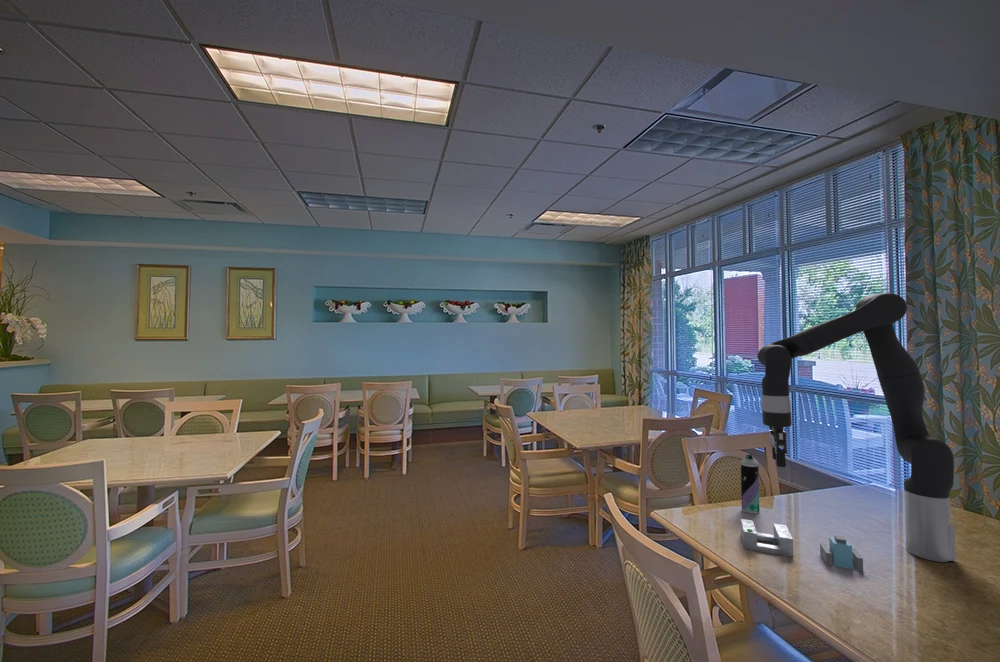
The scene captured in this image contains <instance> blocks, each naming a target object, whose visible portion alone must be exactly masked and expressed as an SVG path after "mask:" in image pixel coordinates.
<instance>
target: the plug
mask: <svg viewBox="0 0 1000 662" xmlns="http://www.w3.org/2000/svg"><path fill="white" fill-rule="evenodd" d="M828 540H829V544H828V545H829V551H830V552H831V556H832V564H833V565H832V566H834V567H839V568H845V569H846V568H847V569H852V570H853V569H854V568H853V567H854V565H853V561H852V548H853V546H852V544H851V543H850V542H849V540H848V539H846V538H845V537H844V536H841V535H834V537H832V536H829V538H828Z"/></svg>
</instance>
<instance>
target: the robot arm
mask: <svg viewBox="0 0 1000 662" xmlns="http://www.w3.org/2000/svg"><path fill="white" fill-rule="evenodd" d="M907 310H908V304H907V302H906V300H905V299H904V298H903V297H902V296H900V295H899V294H896V293H892V292H881V293H876V294H872V295H871V294H870V295H868V296H864V297H862V298H861V299H859V300H858V301H857V303H856V305H855V310H852V311H851V312H850V311H849V312H848V313H846V314H844V315H841V316H838V317H836V318H833V319H830V320H827V321H824V322H821V323H818V324H815V325H812V326H809V327H807V328H805V329H802V330H801V331H799V332H798V331H797V333H794V334H793V335H791V336H789V337H786V338H785V337H784V338H782V339H780V340H776V341H774V342H771V343H769V344H766V345H764V346H762V347H761V348H760V349H759V350H758V352H757V360H758V361H759V364H761V365H762V366H764V367H765V372H764V376H763V377H762V380H761V393H762V394H761V395H762V396H761V413H762V415H761V416H762V417H761V418H762V424H763V425H764V426H767V427H768V428H769V431H768V434H769V443H770V446H771V454H772V459H773V460H774V461H776V466H777V467H778V468H786V467H787V464H786V455H787V453H788V449H787V433H786V432H785V430H784V428H789V427H792V425H793V423H792V404H791V398H790V385H789V378H790V374H791V370H792V369H791V368H792V360H793V359H795V358H798V357H803V356H808V355H810V354H813V353H814V352H818V351H820V350H821V349H824V348H826V347H829V346H831V345H834V344H835V343H838V342H840V341H842V340H844V339H847V338H849V337H852V336H854V335H856V334H859V333H862V332H863V335H864V337H865V339H866V341H867V345H868V347H869V350H870V354H871V359H872V361H873V364H874V367H875V371H876V375H877V379H878V382H879V385H880V389H881V391H882V393H883V397H884V400H885V403H886V407H887V409H888V412H889V415H890V418H891V422H892V427H893V433H894V438H895V445H896V449H897V452H898V454H899V456H900V457H901V458H902V459H903V460H904V461H906V462H907V463H908V464H911V466H910V467H911V471H910V473H911V474H910V477H908V478H905V479H904V481H903V492H904V493H903V494H904V495H903V497H904V498H903V499H904V523H905V524H904V525H905V528H904V529H905V548H906V551H907V552H909V553H910V554H911V555H914V556H915V557H919V558H922V559H925V560H929V561H933V562H938V563H949V562H948V561H954V562H953V563H956V562H957V553H956V552H957V550H956V528H955V526H954V525H952V521H951V520H952V518H951V517H952V515H951V490H952V488H953V486H954V479H955V477H954V475H955V459H954V458H955V457H954V453H953V451H952V449H951V447H950V446H949V445H948V444H947V443H945V442H944V441H942V440H940V439H938V438H935V437H931V435H930V433H929V432H928V429H927V426H926V424H925V421H924V417H923V406H924V403H925V392H926V389H925V383H924V381H923V378H922V374H921V372H920V368H919V367H918V364H917V363H916V361H915V360H914V358H913V357H912V356H911V355H910V354H909V352H908V351H907V349H905V348H904V346H903V344H902V343H901V342H900V341H899V338H898V337H897V335H896V331H895V328H894V325H893V324H895V323H898V322H899V321H900V320H902V319H903V318H904V317H905V315H906V313H907Z"/></svg>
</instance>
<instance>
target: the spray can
mask: <svg viewBox="0 0 1000 662" xmlns="http://www.w3.org/2000/svg"><path fill="white" fill-rule="evenodd" d="M759 475H760V473H759V462H758V461H756V460H755V458H754V457H753V455H752V454H748V453H747V454H746V456H745V457H744V459H741V460H740V482H741V483H740V485H741V486H740V487H741V493H740V494H741V495H740V496H741V511H742V512H744V513H746V514H749V515H750V514H751V515H759V514H760V480H759V479H760V476H759Z"/></svg>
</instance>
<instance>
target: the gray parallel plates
mask: <svg viewBox="0 0 1000 662" xmlns="http://www.w3.org/2000/svg"><path fill="white" fill-rule="evenodd" d="M819 549H820V550H819V553H820V554H819V555H820V558H821V559H822V561H823V563H824V564H825V566H826V567H830V568H831V567H833V565H832V564H833V563H832V556H831V552H830V548H828V546H827V545H826V543H822V542H820V543H819ZM852 561H853V567H854V568H855V570H856V571H857V572H859V573H860V572H861V573H864V558H863V557H862V555H861V554H860V553H859V552H858V551H857V549H856V548H854V547H852Z"/></svg>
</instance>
